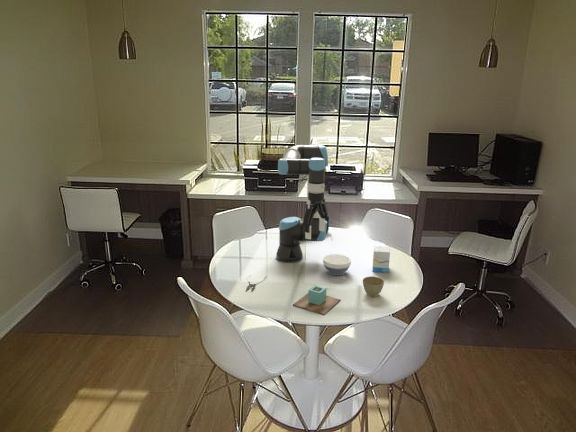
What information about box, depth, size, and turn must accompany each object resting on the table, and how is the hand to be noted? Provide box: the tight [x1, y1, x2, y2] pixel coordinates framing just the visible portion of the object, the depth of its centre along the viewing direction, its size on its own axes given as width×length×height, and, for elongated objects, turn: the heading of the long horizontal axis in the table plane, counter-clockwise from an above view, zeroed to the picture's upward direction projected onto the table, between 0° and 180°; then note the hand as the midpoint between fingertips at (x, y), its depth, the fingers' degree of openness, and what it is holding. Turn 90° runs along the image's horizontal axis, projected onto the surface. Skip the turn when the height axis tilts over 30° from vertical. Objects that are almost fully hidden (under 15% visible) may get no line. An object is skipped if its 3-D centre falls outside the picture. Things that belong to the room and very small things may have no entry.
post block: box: [292, 289, 342, 316], centre depth 204 cm, size 16×16×7 cm
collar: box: [307, 285, 327, 305], centre depth 204 cm, size 6×6×6 cm
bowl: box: [322, 253, 352, 276], centre depth 238 cm, size 14×14×8 cm
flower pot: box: [362, 275, 385, 298], centre depth 213 cm, size 10×10×7 cm
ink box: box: [372, 245, 391, 273], centre depth 242 cm, size 8×8×12 cm
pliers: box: [245, 283, 257, 292], centre depth 225 cm, size 10×1×20 cm
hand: (315, 234), depth 215 cm, fingers open, 13 cm apart
